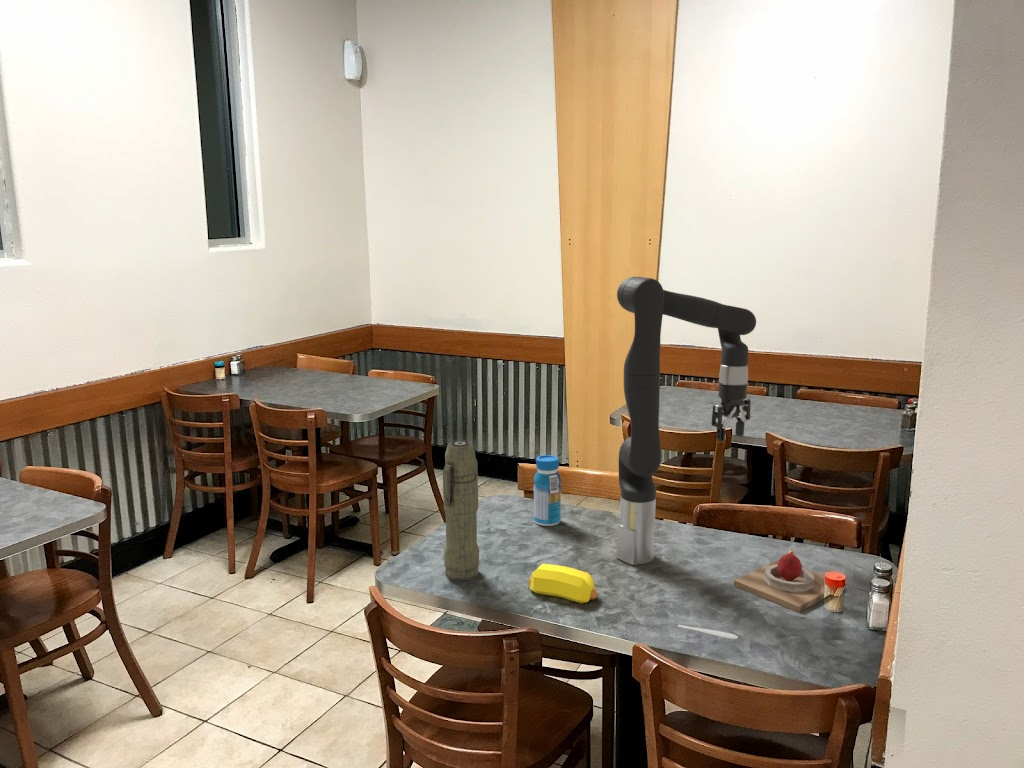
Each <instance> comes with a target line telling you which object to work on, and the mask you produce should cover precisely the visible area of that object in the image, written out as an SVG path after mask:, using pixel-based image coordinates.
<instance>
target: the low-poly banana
mask: <svg viewBox="0 0 1024 768" xmlns="http://www.w3.org/2000/svg"><path fill="white" fill-rule="evenodd" d="M592 577H593V576H592V575H590V573H589V572H586V571H584V570H579V569H577V568H572V567H569V566H564V565H558V564H557V565H555V564H549V563H548V564H547V563H542V564H541V565H539V566H538V567H537V568H536V569H534V571H533V572H532V573H531V575H530V577H529V579H528V585H529V589H530V590H531V591H532V592H534V593H535V594H540V595H546V596H552V597H559V598H562V599H565V600H569V601H573V602H575V603H576V602H577V603H579V604H584V603H589V601H590V600H596V598H597V595H598V593H597V590H596V589H595V581H594V579H593V578H592Z"/></svg>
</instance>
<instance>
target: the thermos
mask: <svg viewBox="0 0 1024 768" xmlns="http://www.w3.org/2000/svg"><path fill="white" fill-rule="evenodd" d="M444 459H445V461H444V463H445V464H444V467H443V470H442V485H443V486H442V490H443V491H442V492H443V496H442V497H443V511H444V512H445V546H444V548H443V549H444V550H443V552H444V553H443V554H444V556H443V559H444V562H443V563H444V568H445V572H444V574H445V577H446V578H447V579H449V580H453V581H459V582H460V581H461V582H462V581H470V580H473V579H475V578H476V577H478V576H479V575H480V574H479V565H480V548H479V545H478V531H477V530H478V527H477V522H478V520H477V519H478V518H477V516H478V514H477V513H478V511H479V483H478V482H479V478H478V474H479V473H478V466H479V463H478V459H477V458H476V451H475V449H474V446H473V444H472V442H470V441H468V440H463V439H458V440H457V439H456V440H452V441H451V442H449V443H448V444H447V447H446V450H445V453H444Z"/></svg>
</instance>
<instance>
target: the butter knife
mask: <svg viewBox="0 0 1024 768" xmlns="http://www.w3.org/2000/svg"><path fill="white" fill-rule="evenodd" d="M677 627H679V628H683V629H687V630H693V631H696V632H701V633H704V634H708V635H713V636H717V637H721V638H725V639H730V640H737V639H738V637H739V636H738V635H736V634H733V633H729V632H726V631H725V632H724V631H719V630H713V629H708V628H707V629H706V628H701V627H695V626H687V625H682V624H678V625H677Z"/></svg>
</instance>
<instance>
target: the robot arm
mask: <svg viewBox="0 0 1024 768" xmlns="http://www.w3.org/2000/svg"><path fill="white" fill-rule="evenodd" d="M616 298H617V301H618V304H619V305H620V306H621V308H623V309H624V310H625V311H627V312H630V313H631V314H633V315H634V333H633V334H634V335H633V338H632V339H633V340H632V341H631V342H632V343H631V345H630V347H629V349H628V353H627V355H626V357H625V361H624V364H623V391H624V392H623V393H624V399H625V404H626V407H627V411H628V415H629V420H630V427H631V428H630V436H629V437H628V438H626V439H625V440H624V441H623V442H622V443H621V446H620V448H619V452H618V486H619V488H620V516H619V518H620V519H619V524H617V527H616V529H617V530H616V531H617V532H616V559H618V560H620V561H622V562H625V563H627V564H629V565H632V566H635V565H645V564H649V563H651V562H653V561H654V558H655V557H654V556H655V555H654V554H655V553H654V552H655V527H656V526H655V525H656V506H657V505H656V502H657V501H656V499H657V489H656V485H655V482H654V479H653V476H654V475H655V474H656V473H657V472H658V470H659V468H660V466H661V462H662V449H661V448H662V447H661V439H660V438H661V437H660V424H659V423H660V419H659V418H660V391H661V390H660V389H661V337H662V336H661V334H662V322H663V315H665V316H667V317H672V318H674V319H678V320H681V321H683V322H688V323H691V324H694V325H698V326H701V327H706V328H712V329H717V331H718V336H719V341H720V342H719V343H720V347H721V354H720V355H721V356H720V366H719V367H720V369H719V373H718V374H719V375H718V376H719V377H718V398H720V399H721V402H720V404H715V403H714V404H713V406H712V413H711V415H712V416H711V426H712V427H715V428H716V437H715V438H716V441H717V442H721V443H723V442H725V440H726V426H727V424H728V423H729V422H730V421H731V419H733V418H734V419H735V421H736V422H735V434H734V435H735V436H737V437H743V436H744V433H745V424H746V422H747V421H750V419H751V398H747V397H748V383H749V382H748V381H749V369H748V368H749V367H748V366H749V365H748V364H749V361H748V360H749V347H748V345H747V344H746V343H745V342H743V341H742V340H741V336H746V335H749V334H751V333H752V332H753V331H754V330H755V328H756V326H757V318H756V315H755V314H754V312H752V311H751V310H749V309H748V308H743V307H738V306H735V305H734V306H733V305H727V304H723V303H721V302H717V301H715V300H712V299H707V298H704V297H700V296H695V295H690V294H684V293H680V292H679V293H678V292H674V291H669V290H666V289H664V288H663V285H662V284H661V283H660V282H659V280H657V279H655V278H652V277H644V276H631V277H627V278H626V279H624V280H623V281H622V282H621V283H620V284H619V286H618V288H617V291H616ZM745 413H746V414H745Z"/></svg>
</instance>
